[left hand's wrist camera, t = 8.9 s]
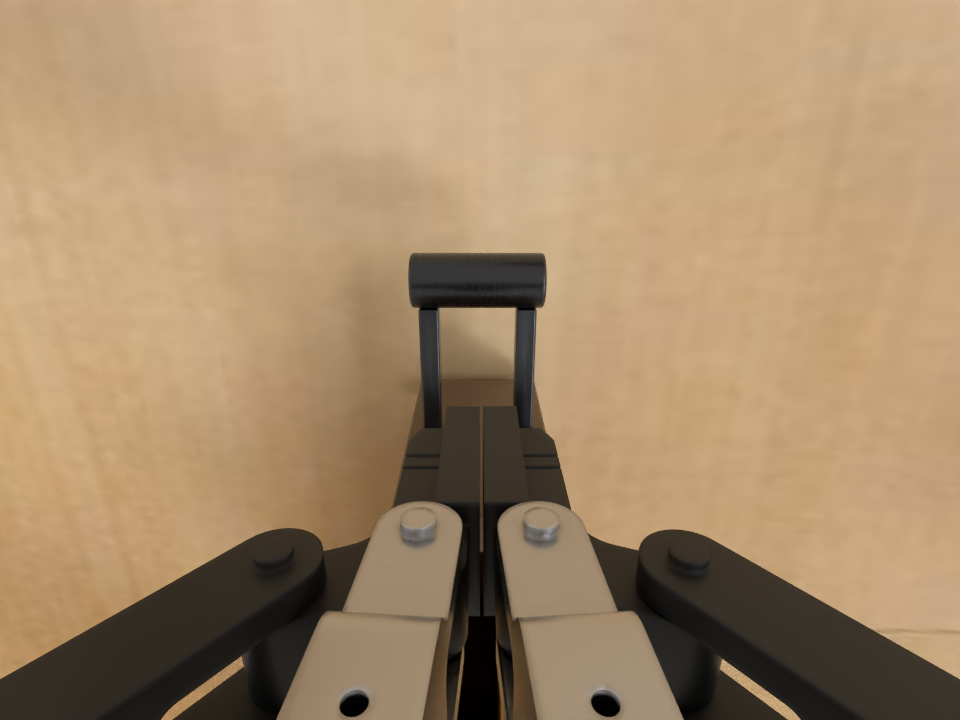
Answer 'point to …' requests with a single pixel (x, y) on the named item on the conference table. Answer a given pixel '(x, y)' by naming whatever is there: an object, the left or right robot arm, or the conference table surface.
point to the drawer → (477, 401)
